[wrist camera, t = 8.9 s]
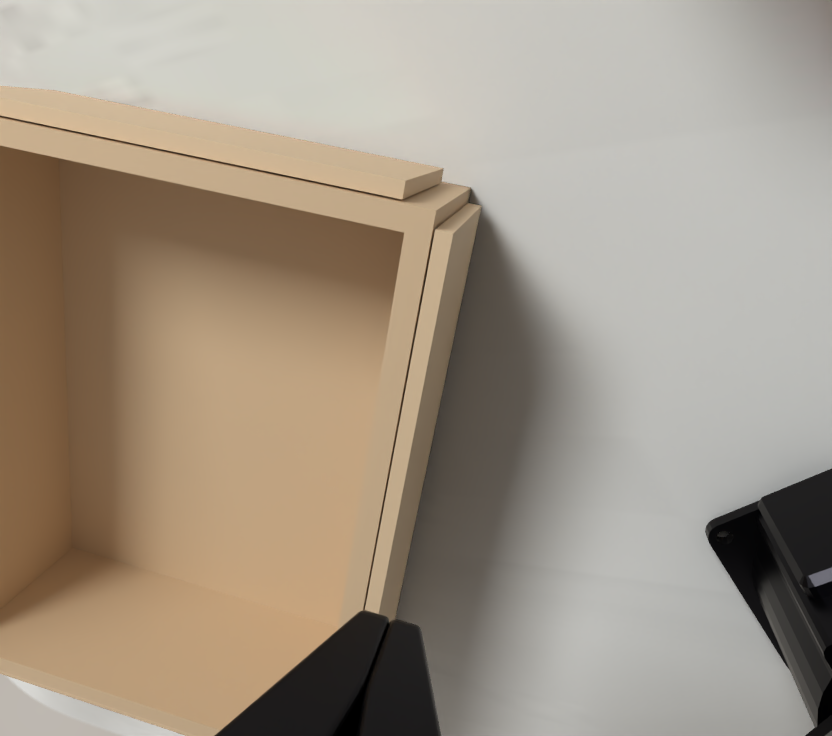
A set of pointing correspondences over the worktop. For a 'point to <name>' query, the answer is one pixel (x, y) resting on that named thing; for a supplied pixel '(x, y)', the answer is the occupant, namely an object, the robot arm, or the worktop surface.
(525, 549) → the worktop surface
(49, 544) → the carton
